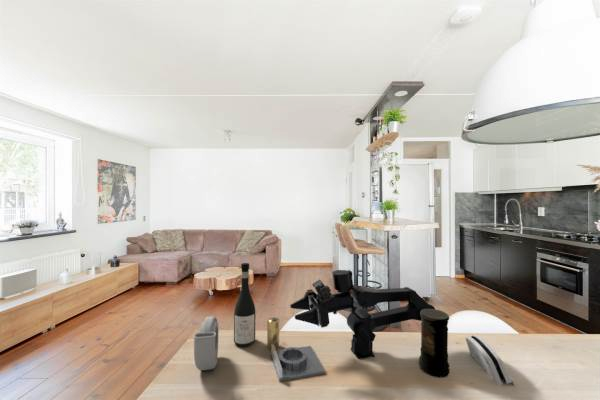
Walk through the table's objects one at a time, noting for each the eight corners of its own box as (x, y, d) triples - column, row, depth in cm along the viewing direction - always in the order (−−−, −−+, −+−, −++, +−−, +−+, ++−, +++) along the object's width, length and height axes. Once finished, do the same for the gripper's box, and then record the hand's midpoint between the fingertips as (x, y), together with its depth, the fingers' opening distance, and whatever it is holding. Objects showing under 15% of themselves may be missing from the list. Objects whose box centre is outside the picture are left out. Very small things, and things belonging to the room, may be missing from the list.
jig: (310, 348, 100) (310, 339, 100) (324, 373, 85) (324, 362, 85) (271, 354, 96) (271, 344, 96) (279, 381, 82) (279, 370, 82)
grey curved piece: (516, 386, 80) (504, 353, 80) (500, 390, 81) (488, 358, 81) (485, 354, 97) (475, 327, 97) (471, 358, 97) (461, 331, 98)
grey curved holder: (202, 352, 97) (203, 310, 97) (221, 351, 98) (222, 309, 98) (192, 384, 80) (192, 333, 80) (215, 382, 81) (215, 331, 81)
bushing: (278, 343, 104) (278, 316, 104) (280, 349, 99) (280, 321, 99) (266, 344, 103) (266, 317, 103) (268, 350, 98) (268, 322, 98)
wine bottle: (255, 347, 101) (255, 265, 101) (233, 348, 100) (233, 266, 100) (255, 336, 109) (255, 260, 109) (234, 337, 108) (235, 261, 108)
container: (424, 357, 95) (425, 305, 95) (453, 369, 88) (453, 313, 88) (414, 368, 88) (414, 313, 88) (444, 382, 82) (444, 322, 82)
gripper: (325, 272, 104) (285, 280, 101) (342, 288, 86) (294, 298, 83) (329, 301, 105) (289, 309, 102) (347, 322, 86) (298, 333, 83)
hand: (292, 311), depth 92 cm, fingers open, 9 cm apart
